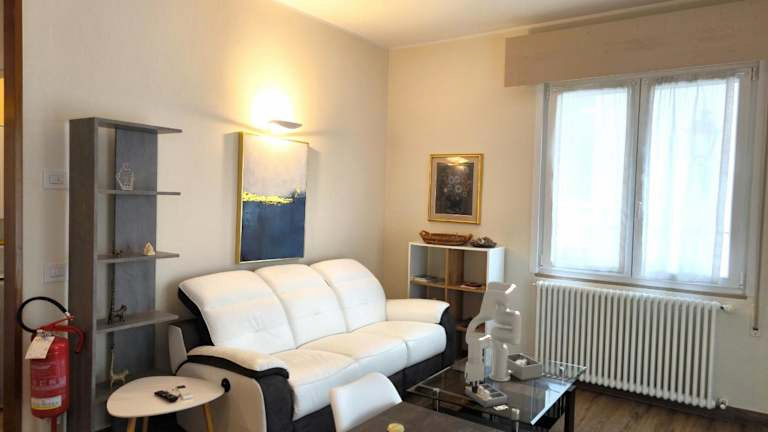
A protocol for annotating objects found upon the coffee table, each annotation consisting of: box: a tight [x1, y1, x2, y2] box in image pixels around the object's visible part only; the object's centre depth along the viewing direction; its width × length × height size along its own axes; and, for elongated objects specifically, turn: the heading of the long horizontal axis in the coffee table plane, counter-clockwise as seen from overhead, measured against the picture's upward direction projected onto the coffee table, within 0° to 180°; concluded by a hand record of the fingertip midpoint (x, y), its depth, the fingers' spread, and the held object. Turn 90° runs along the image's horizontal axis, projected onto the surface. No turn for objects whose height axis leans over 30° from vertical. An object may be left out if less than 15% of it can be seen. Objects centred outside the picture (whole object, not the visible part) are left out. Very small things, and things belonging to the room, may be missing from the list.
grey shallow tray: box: [464, 382, 510, 408], centre depth 294 cm, size 15×20×4 cm
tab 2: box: [481, 390, 491, 399], centre depth 286 cm, size 4×4×5 cm
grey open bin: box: [508, 352, 543, 381], centre depth 333 cm, size 15×22×8 cm
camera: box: [515, 352, 528, 366], centre depth 333 cm, size 15×8×10 cm, turn 148°
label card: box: [493, 404, 509, 411], centre depth 281 cm, size 7×4×1 cm, turn 113°
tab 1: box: [477, 386, 484, 395], centre depth 292 cm, size 4×4×5 cm
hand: (474, 392), depth 291 cm, fingers closed
